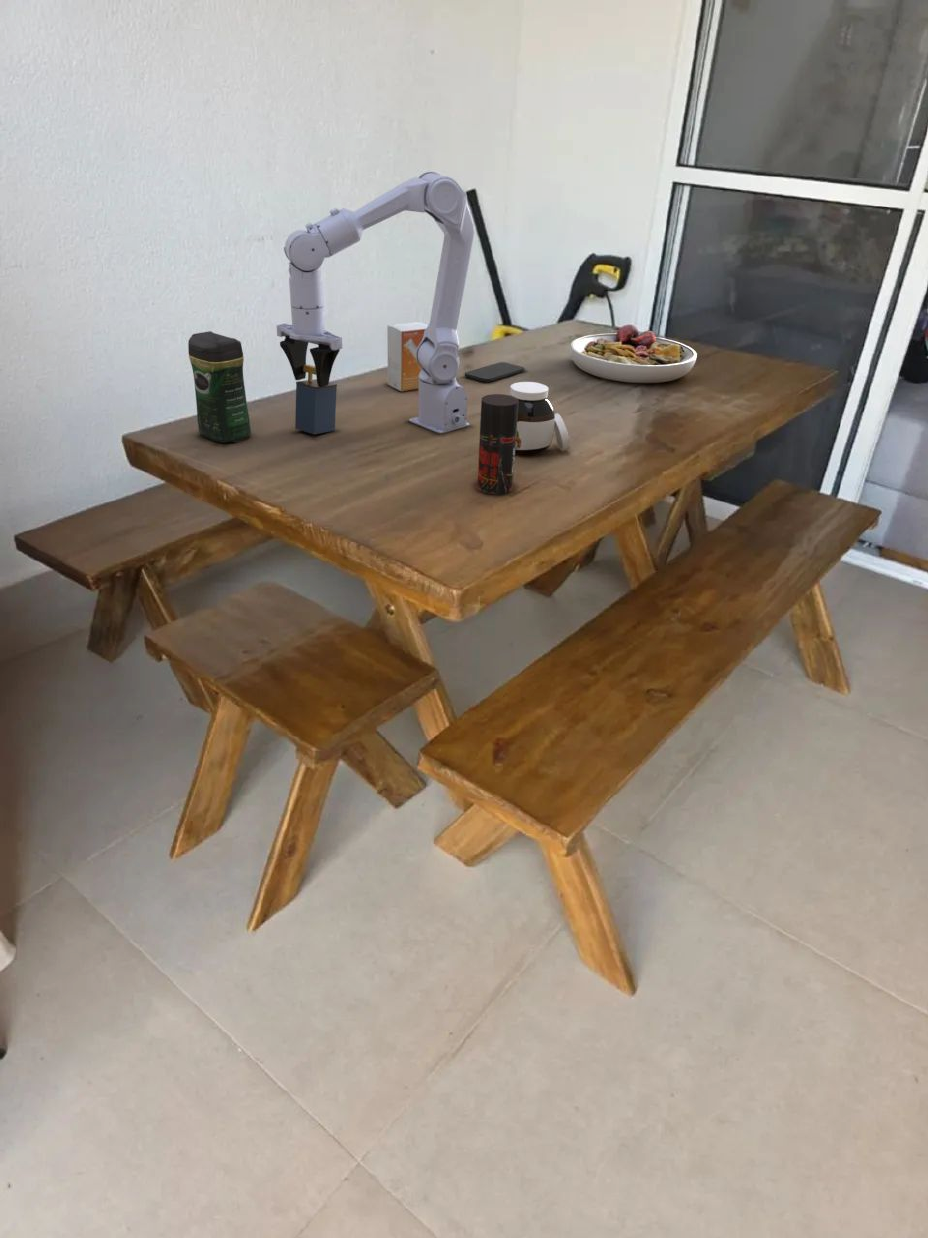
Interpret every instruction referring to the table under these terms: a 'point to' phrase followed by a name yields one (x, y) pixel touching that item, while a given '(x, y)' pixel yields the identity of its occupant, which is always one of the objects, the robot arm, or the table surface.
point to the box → (315, 405)
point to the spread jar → (537, 420)
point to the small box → (404, 355)
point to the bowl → (632, 356)
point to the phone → (494, 371)
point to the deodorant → (497, 443)
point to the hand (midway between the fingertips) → (311, 382)
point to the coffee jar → (219, 387)
